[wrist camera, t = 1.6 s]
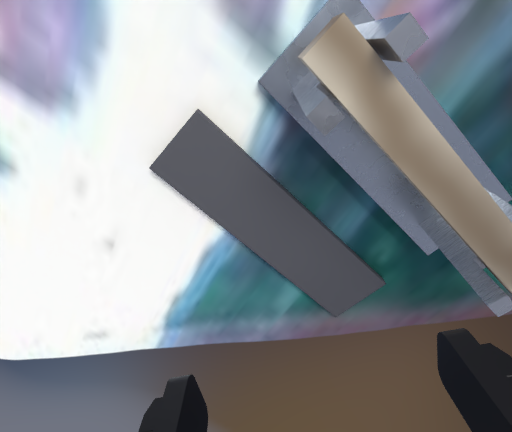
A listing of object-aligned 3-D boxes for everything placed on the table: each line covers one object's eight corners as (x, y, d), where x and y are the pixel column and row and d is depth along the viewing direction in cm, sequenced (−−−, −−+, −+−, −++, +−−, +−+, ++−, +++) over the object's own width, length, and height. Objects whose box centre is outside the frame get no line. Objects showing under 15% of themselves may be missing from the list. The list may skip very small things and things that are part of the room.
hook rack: (341, -15, 27) (405, -68, 14) (503, 193, 35) (633, 274, 22) (258, 79, 30) (251, 103, 18) (422, 248, 38) (495, 344, 26)
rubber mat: (198, 108, 32) (196, 110, 31) (383, 278, 41) (385, 283, 40) (152, 164, 34) (149, 168, 34) (334, 311, 43) (335, 317, 43)
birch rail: (333, 16, 20) (343, 12, 17) (532, 261, 27) (561, 284, 25) (297, 56, 21) (301, 58, 18) (499, 281, 28) (522, 305, 26)
